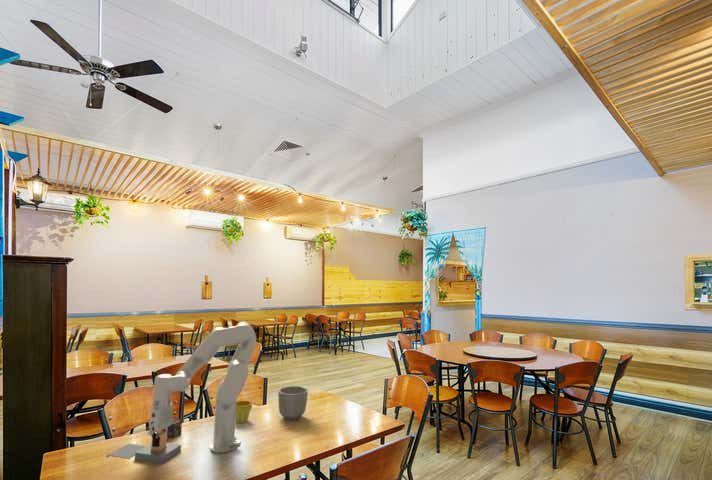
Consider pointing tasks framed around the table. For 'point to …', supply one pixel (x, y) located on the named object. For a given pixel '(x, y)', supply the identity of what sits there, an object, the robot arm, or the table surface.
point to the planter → (292, 402)
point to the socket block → (158, 453)
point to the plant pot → (242, 411)
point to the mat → (126, 451)
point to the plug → (161, 441)
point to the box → (174, 429)
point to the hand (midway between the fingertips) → (159, 444)
